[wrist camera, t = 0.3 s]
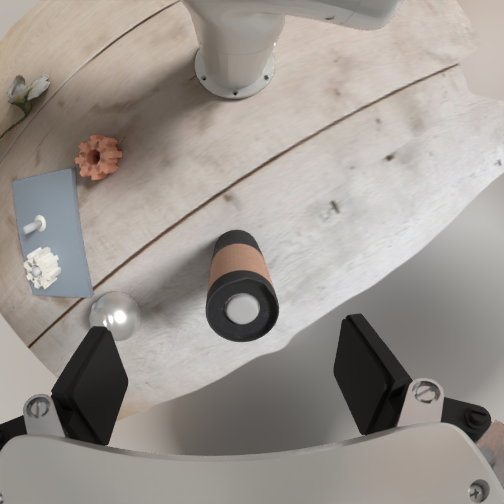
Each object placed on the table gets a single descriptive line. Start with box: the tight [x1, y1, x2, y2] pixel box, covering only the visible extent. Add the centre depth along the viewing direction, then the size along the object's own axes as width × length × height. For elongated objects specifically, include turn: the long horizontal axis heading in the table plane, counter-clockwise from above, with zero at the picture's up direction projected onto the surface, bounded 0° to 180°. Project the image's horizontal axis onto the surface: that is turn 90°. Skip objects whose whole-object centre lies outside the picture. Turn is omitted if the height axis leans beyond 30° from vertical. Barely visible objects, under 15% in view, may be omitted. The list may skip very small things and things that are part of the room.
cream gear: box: [24, 247, 61, 289], centre depth 40 cm, size 7×7×4 cm
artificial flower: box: [0, 74, 50, 139], centre depth 31 cm, size 9×22×10 cm, turn 119°
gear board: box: [12, 168, 94, 298], centre depth 39 cm, size 24×16×6 cm, turn 0°
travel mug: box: [206, 230, 279, 342], centre depth 37 cm, size 8×8×20 cm
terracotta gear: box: [75, 135, 122, 180], centre depth 37 cm, size 7×7×4 cm
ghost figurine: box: [89, 292, 141, 341], centre depth 43 cm, size 9×9×10 cm
